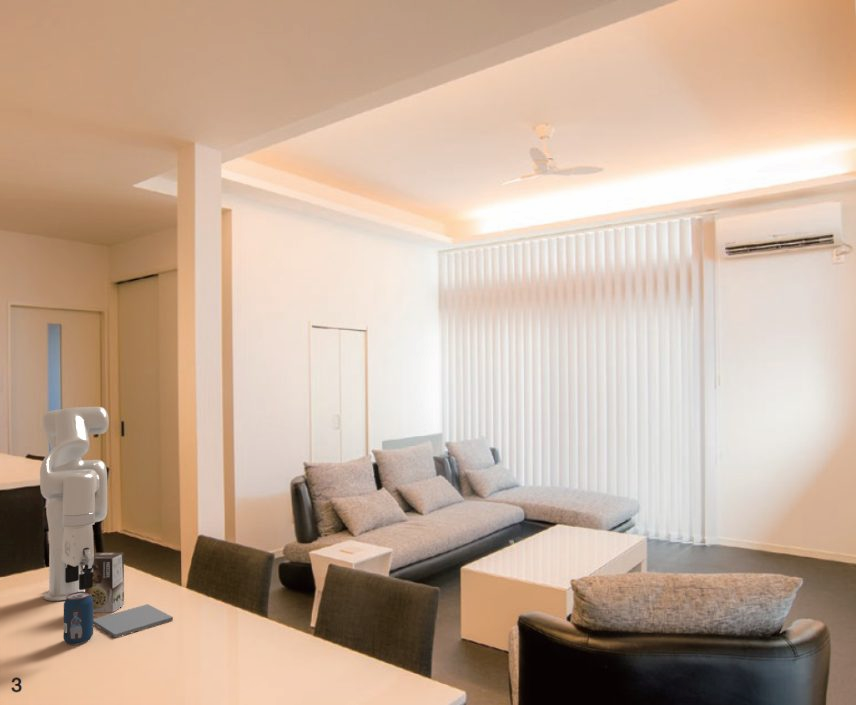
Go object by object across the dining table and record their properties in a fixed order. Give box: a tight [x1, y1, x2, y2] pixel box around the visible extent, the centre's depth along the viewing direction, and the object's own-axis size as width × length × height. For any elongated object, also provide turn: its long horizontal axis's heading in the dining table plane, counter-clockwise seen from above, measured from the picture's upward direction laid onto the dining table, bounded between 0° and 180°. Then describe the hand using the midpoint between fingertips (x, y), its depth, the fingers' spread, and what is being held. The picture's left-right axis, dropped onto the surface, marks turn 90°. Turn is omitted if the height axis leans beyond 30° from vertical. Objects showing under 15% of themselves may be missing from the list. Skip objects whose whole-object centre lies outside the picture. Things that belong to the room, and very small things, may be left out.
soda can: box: [63, 591, 94, 646], centre depth 171 cm, size 7×7×12 cm
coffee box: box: [85, 552, 125, 613], centre depth 194 cm, size 9×6×16 cm
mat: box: [93, 603, 174, 638], centre depth 183 cm, size 16×16×1 cm
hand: (78, 585), depth 171 cm, fingers open, 9 cm apart
